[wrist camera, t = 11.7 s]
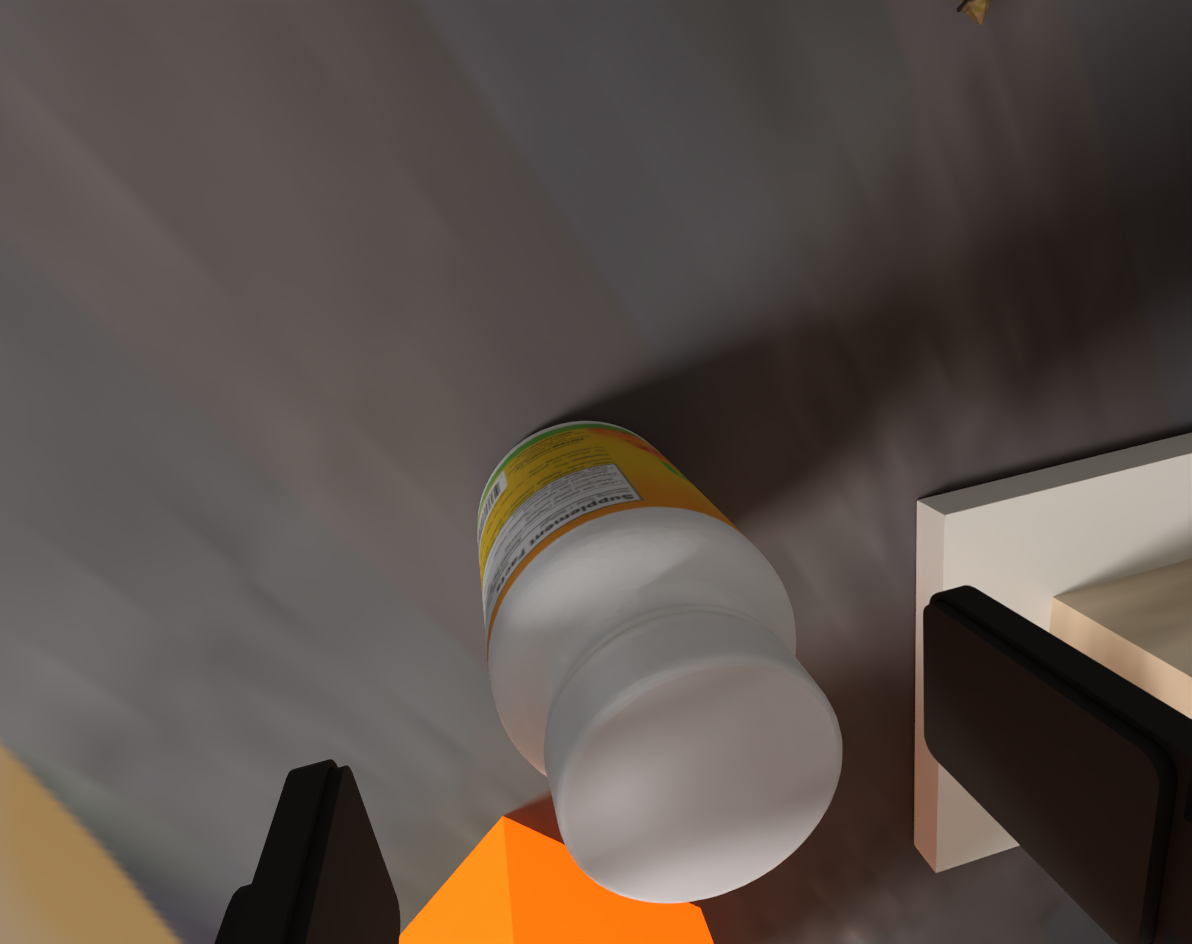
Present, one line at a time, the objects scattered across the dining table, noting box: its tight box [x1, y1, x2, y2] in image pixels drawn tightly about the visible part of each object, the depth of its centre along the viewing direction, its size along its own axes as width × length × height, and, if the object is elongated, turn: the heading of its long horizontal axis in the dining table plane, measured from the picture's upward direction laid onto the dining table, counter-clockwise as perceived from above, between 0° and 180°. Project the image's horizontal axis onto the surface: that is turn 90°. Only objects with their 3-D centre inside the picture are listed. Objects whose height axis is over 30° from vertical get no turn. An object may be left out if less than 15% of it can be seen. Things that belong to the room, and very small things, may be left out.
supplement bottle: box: [477, 421, 842, 903], centre depth 13 cm, size 5×5×10 cm
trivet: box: [914, 433, 1192, 873], centre depth 22 cm, size 14×14×1 cm
